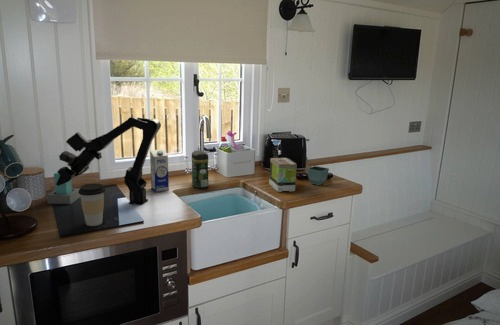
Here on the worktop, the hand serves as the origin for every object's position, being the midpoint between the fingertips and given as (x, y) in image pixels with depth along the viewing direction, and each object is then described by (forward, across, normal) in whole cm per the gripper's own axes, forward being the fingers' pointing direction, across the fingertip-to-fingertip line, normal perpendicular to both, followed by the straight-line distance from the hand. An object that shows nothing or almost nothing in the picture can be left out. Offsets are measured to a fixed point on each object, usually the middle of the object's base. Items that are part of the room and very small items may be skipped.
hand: (62, 182), depth 168 cm
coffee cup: (-11, +25, +23) cm, 36 cm away
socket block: (+6, 0, +6) cm, 8 cm away
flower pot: (-79, -37, +92) cm, 127 cm away
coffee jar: (-35, -28, +48) cm, 65 cm away
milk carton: (-21, -19, +34) cm, 44 cm away
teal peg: (+6, 0, +6) cm, 9 cm away
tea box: (-65, -29, +78) cm, 106 cm away
